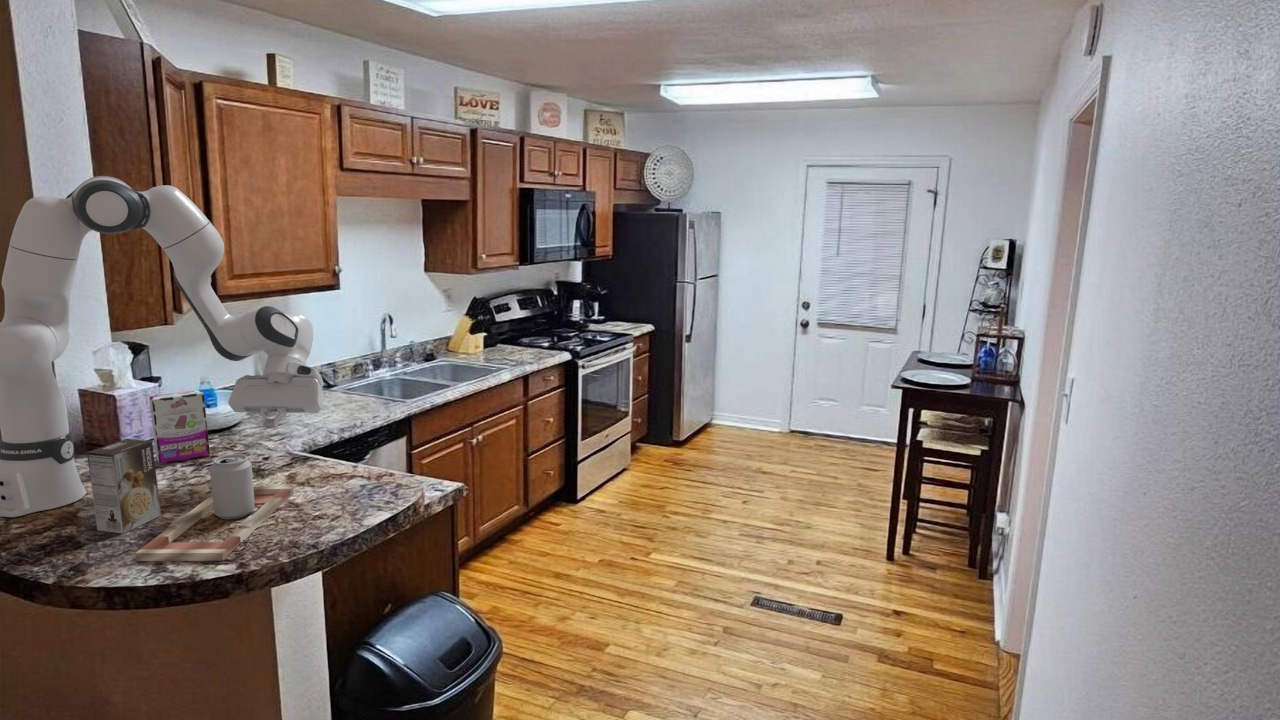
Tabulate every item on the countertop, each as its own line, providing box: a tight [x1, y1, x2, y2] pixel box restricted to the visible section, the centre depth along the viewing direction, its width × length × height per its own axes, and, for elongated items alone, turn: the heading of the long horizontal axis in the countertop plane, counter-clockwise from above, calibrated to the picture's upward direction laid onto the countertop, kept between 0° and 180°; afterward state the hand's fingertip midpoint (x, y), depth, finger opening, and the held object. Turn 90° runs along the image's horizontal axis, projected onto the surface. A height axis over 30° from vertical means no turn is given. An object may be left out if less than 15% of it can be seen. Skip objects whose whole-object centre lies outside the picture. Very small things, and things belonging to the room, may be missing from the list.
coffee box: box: [86, 438, 162, 534], centre depth 150 cm, size 9×6×16 cm
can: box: [209, 453, 256, 520], centre depth 156 cm, size 8×8×12 cm
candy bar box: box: [148, 389, 211, 465], centre depth 188 cm, size 11×5×16 cm, turn 131°
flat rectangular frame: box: [134, 486, 295, 562], centre depth 153 cm, size 15×33×2 cm, turn 4°
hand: (269, 427), depth 174 cm, fingers closed
